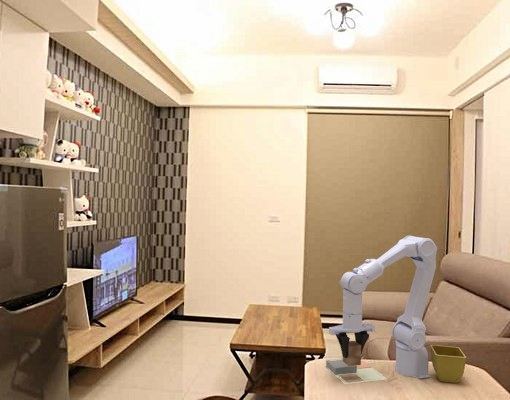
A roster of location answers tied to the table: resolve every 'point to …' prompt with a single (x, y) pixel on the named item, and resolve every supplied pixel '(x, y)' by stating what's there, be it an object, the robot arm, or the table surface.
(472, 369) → the table surface
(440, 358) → the flower pot
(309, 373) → the table surface
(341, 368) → the sliding cover
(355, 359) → the walnut block
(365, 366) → the puzzle board
